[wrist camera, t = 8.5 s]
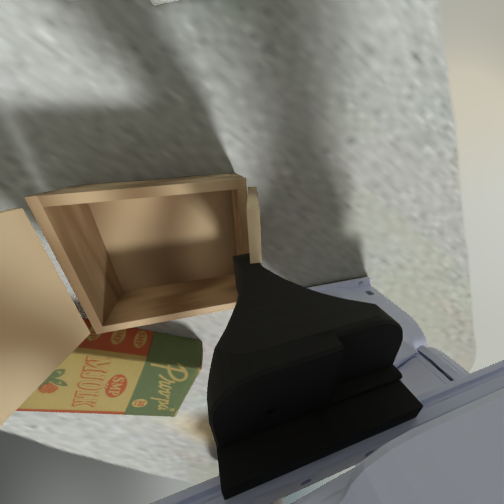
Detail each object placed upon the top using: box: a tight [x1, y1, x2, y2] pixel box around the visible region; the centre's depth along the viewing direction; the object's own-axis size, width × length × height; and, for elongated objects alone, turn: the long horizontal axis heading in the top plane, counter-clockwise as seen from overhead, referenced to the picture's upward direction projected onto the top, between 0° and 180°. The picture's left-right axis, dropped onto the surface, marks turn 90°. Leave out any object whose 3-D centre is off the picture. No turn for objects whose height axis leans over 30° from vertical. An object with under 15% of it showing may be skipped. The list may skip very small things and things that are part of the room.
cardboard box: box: [24, 173, 250, 334], centre depth 16 cm, size 12×10×5 cm
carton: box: [16, 318, 203, 417], centre depth 21 cm, size 8×16×4 cm, turn 63°
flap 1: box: [0, 208, 90, 426], centre depth 10 cm, size 6×9×1 cm
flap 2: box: [246, 187, 262, 265], centre depth 12 cm, size 6×9×1 cm
